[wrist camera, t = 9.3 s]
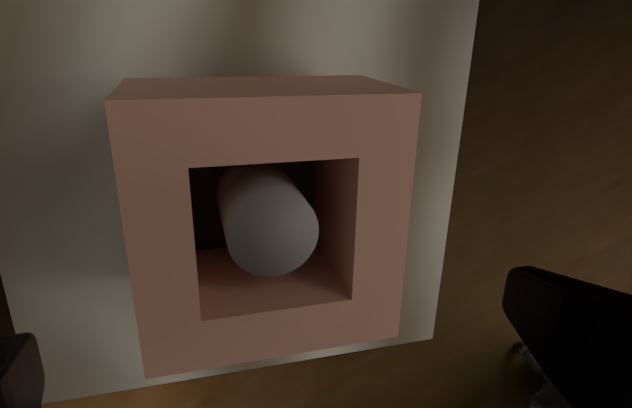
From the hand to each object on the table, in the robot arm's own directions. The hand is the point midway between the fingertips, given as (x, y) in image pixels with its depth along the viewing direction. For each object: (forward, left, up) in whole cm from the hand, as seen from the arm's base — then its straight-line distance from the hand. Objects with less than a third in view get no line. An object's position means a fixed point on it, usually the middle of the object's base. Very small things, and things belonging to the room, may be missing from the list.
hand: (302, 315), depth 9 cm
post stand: (0, 0, -10) cm, 10 cm away
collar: (0, 0, -7) cm, 7 cm away
